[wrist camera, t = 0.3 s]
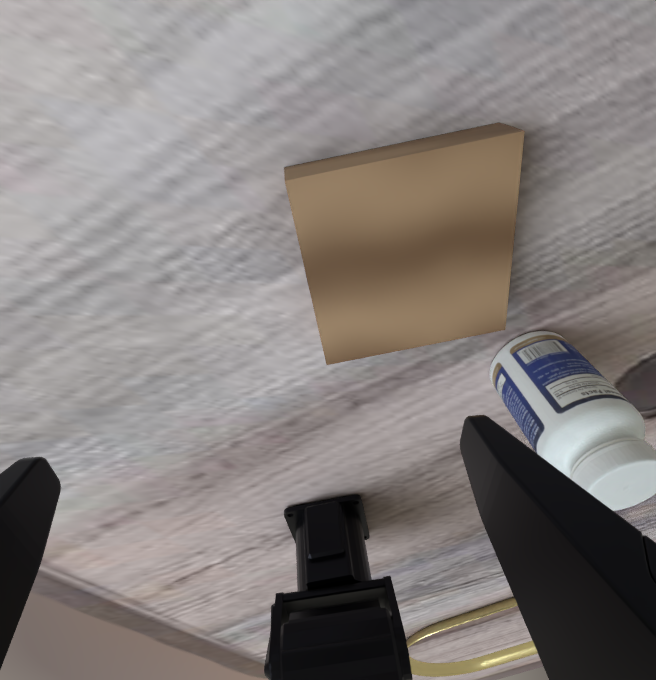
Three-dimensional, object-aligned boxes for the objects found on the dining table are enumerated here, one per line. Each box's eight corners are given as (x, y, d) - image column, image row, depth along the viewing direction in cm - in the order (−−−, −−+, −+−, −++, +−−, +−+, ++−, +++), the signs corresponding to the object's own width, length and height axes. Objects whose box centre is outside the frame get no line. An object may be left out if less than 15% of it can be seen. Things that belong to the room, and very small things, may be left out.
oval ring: (662, 600, 55) (671, 613, 54) (425, 673, 63) (429, 686, 62) (650, 543, 45) (661, 557, 44) (371, 638, 53) (373, 652, 52)
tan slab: (487, 307, 24) (505, 329, 23) (323, 340, 25) (326, 365, 23) (498, 122, 19) (524, 130, 17) (284, 167, 19) (284, 180, 17)
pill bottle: (530, 399, 30) (622, 527, 22) (471, 379, 28) (548, 510, 20) (585, 342, 27) (712, 464, 19) (524, 316, 25) (636, 438, 17)
